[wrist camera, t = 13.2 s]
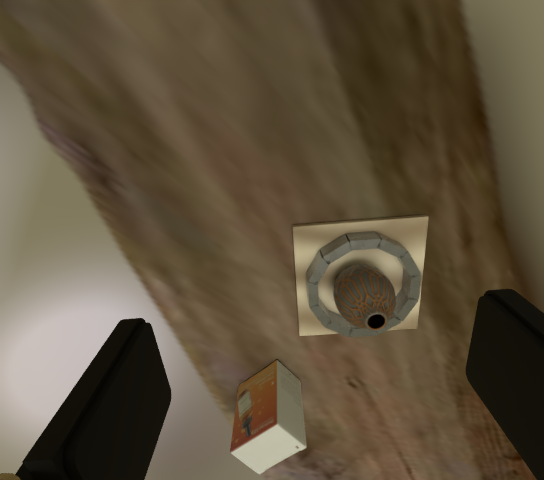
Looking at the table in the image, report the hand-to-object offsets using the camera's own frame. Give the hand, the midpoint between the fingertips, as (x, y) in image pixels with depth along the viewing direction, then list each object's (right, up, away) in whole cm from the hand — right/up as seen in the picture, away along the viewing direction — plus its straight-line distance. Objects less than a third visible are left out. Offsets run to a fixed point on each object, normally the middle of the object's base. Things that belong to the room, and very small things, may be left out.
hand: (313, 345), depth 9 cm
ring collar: (+10, -2, +32) cm, 33 cm away
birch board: (+10, -2, +33) cm, 34 cm away
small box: (-2, -18, +40) cm, 44 cm away
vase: (+10, -2, +32) cm, 34 cm away
